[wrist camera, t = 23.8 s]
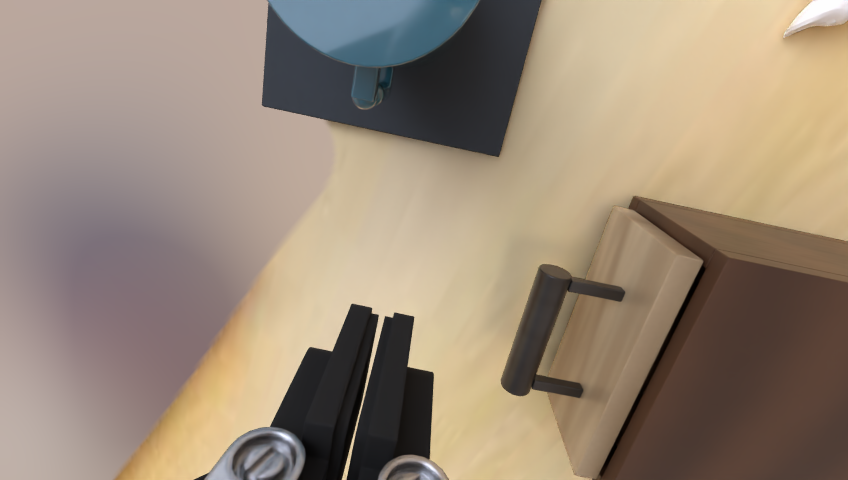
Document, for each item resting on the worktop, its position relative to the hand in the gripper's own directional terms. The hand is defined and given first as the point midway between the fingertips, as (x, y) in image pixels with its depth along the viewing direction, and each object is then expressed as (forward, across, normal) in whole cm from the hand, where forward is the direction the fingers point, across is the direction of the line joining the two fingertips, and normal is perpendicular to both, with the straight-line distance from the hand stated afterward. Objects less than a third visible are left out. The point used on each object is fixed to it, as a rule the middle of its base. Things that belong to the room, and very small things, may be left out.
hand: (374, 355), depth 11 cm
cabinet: (+15, -21, +4) cm, 26 cm away
